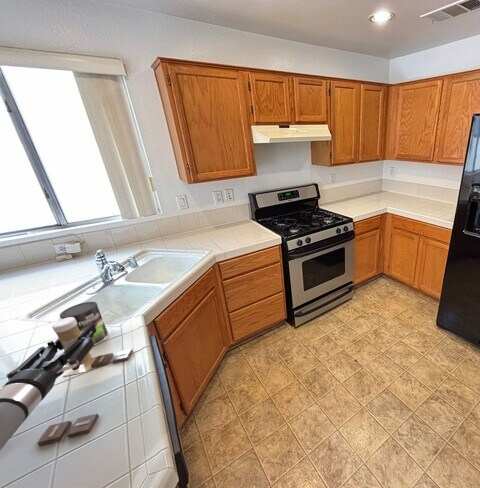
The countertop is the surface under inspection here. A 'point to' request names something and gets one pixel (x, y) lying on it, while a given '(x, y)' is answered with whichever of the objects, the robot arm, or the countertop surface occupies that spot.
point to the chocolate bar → (101, 361)
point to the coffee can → (88, 319)
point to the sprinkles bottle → (68, 334)
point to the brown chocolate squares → (59, 430)
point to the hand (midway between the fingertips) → (83, 329)
